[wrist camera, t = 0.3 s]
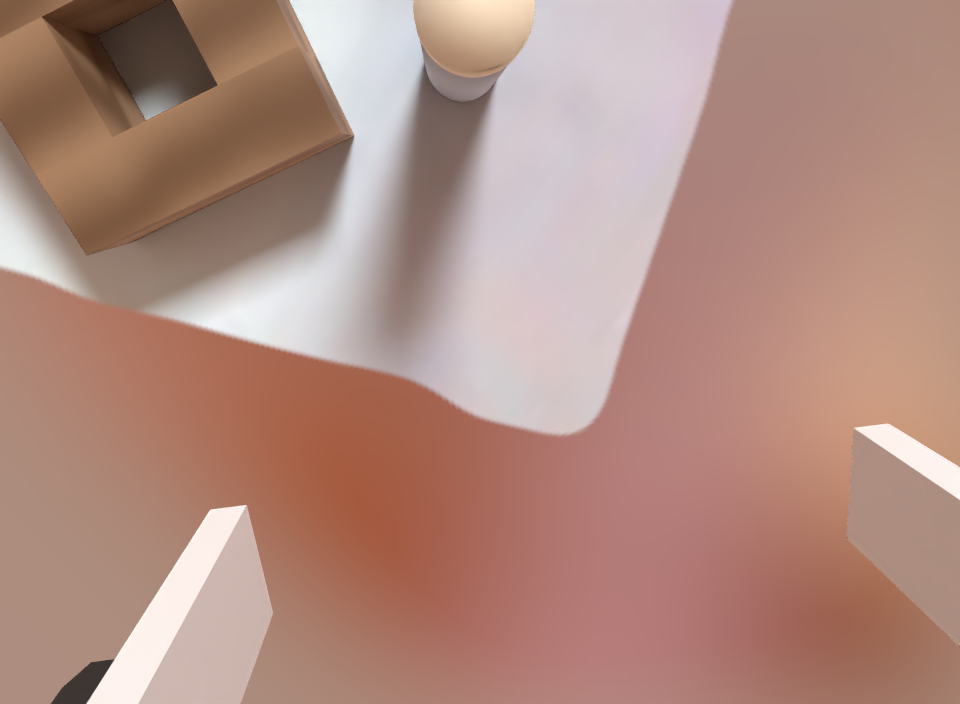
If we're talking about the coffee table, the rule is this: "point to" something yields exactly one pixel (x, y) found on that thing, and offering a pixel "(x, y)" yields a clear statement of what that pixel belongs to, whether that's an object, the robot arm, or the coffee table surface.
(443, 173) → the coffee table surface
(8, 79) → the socket block
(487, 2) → the peg
